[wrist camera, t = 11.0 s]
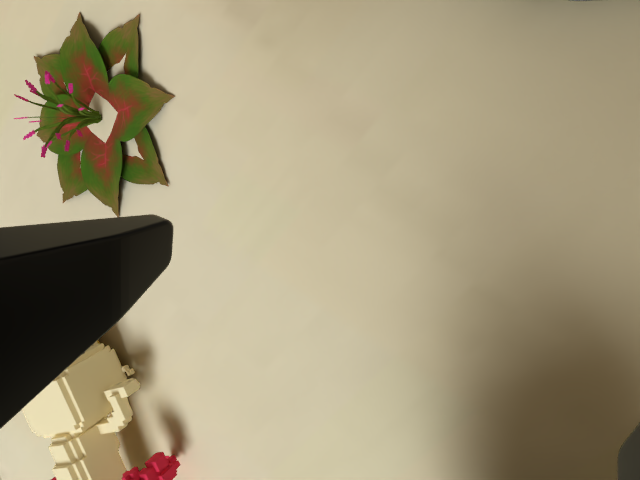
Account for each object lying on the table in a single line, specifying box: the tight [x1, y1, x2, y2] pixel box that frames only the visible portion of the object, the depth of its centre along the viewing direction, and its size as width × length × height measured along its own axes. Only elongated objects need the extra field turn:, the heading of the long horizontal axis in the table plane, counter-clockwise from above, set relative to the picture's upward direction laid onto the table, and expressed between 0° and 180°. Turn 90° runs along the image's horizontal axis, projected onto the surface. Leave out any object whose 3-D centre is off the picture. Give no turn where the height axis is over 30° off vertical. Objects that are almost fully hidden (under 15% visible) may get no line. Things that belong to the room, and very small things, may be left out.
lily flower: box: [14, 12, 175, 217], centre depth 26 cm, size 12×12×5 cm
